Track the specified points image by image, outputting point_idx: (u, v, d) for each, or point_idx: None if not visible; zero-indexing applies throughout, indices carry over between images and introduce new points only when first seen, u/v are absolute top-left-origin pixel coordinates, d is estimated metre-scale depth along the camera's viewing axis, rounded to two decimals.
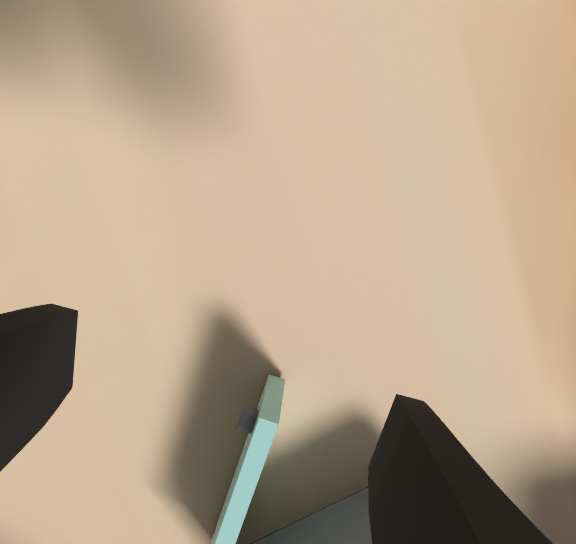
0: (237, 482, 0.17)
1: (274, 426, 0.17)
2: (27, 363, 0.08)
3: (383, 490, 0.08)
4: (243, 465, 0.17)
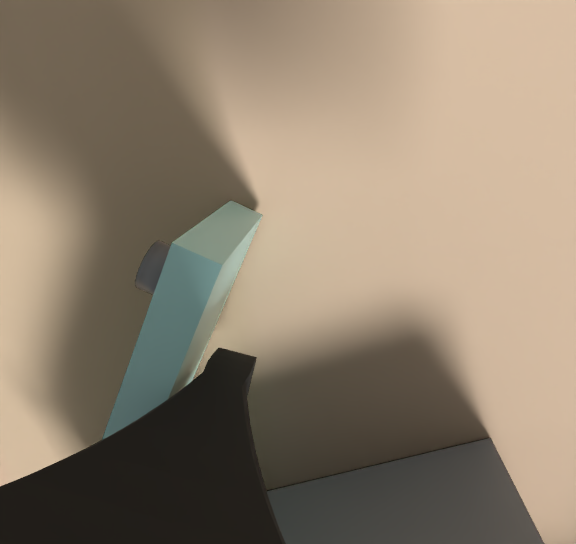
0: (118, 401, 0.07)
1: (211, 270, 0.06)
2: None
3: None
4: (132, 363, 0.07)
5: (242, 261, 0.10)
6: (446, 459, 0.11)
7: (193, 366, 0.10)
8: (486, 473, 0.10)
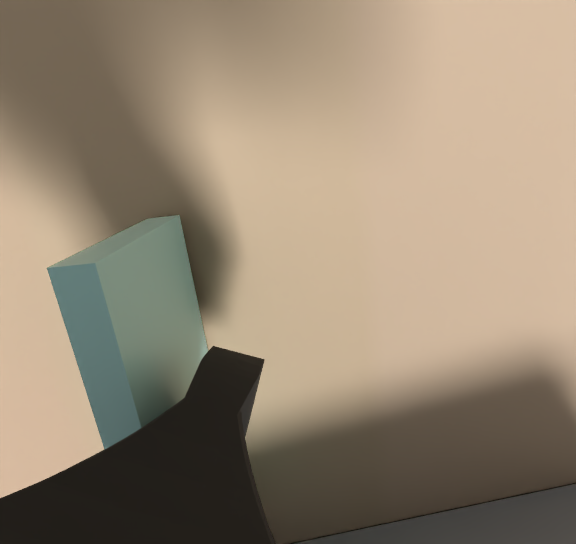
0: (103, 431, 0.08)
1: (90, 272, 0.07)
2: (244, 420, 0.08)
3: None
4: (89, 391, 0.07)
5: (188, 264, 0.10)
6: (567, 498, 0.11)
7: (189, 377, 0.10)
8: None
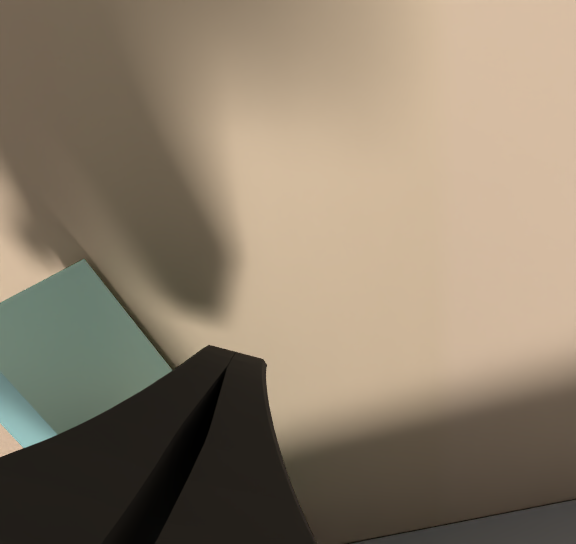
0: None
1: None
2: (211, 411, 0.08)
3: None
4: (20, 439, 0.08)
5: (112, 299, 0.11)
6: None
7: None
8: None
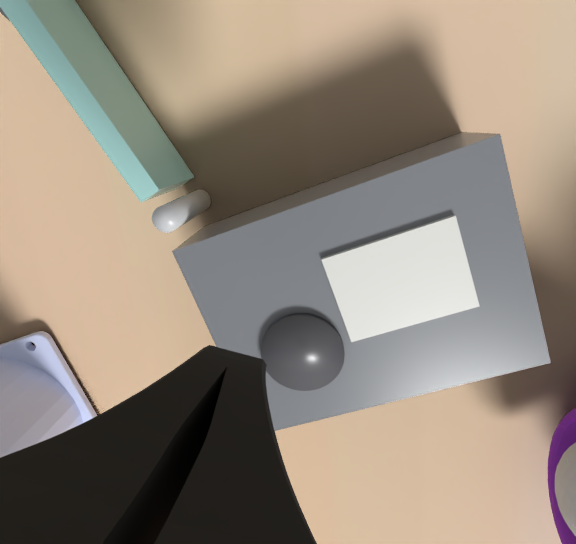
0: (24, 37, 0.13)
1: None
2: (211, 412, 0.08)
3: None
4: (5, 10, 0.13)
5: None
6: (430, 144, 0.16)
7: (90, 47, 0.15)
8: (457, 137, 0.15)
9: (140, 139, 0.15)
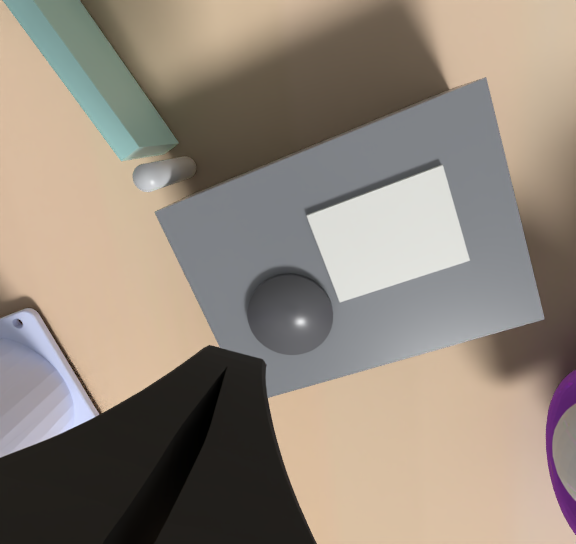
0: None
1: None
2: (211, 412, 0.08)
3: None
4: None
5: None
6: (418, 102, 0.16)
7: (68, 6, 0.15)
8: (444, 91, 0.15)
9: (120, 98, 0.14)
